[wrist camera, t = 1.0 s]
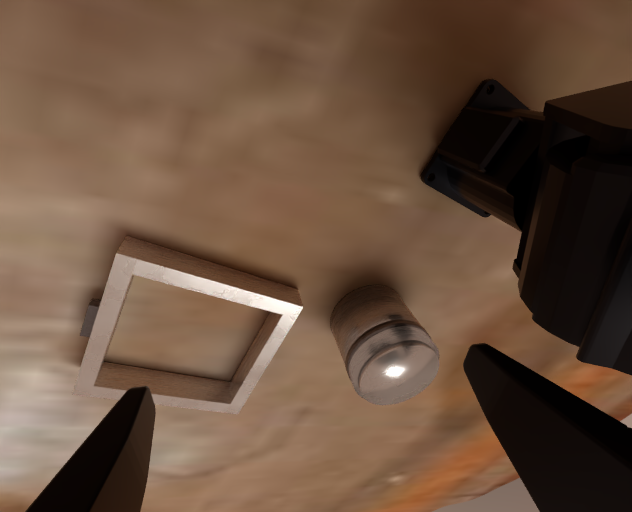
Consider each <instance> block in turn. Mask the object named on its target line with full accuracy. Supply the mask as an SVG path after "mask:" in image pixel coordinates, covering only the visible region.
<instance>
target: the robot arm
mask: <svg viewBox="0 0 632 512" xmlns="http://www.w3.org/2000/svg"><path fill="white" fill-rule="evenodd" d="M488 86H490V89H489V92H488V93H486V89H487V87H488ZM430 174H432V176H431V178H430V179H428V176H429V175H430ZM421 180H422V182H423V183H425V184H426V185H428V186H430V187H432V188H433V189H435V190H437V191H439V192H440V193H442V194H444V195H446V196H447V197H449V198H451V199H453V200H454V201H456V202H458V203H460V204H461V205H463V206H465V207H466V208H468V209H470V210H472V211H473V212H475V213H477V214H479V215H480V216H482V217H489V216H490V215H493V216H495V217H497V218H498V219H500V220H502V221H503V222H505V223H507V224H509V225H510V226H512V227H514V228H516V229H517V230H519V231H521V232H522V234H521V239H520V244H519V249H518V254H517V259H515V260H514V263H513V270H514V272H515V274H516V275H517V277H518V278H519V281H518V288H519V293H520V297H521V299H522V300H523V301H524V303H525V304H526V306H527V307H528V308H529V310H530V311H531V312H532V313H533V314H532V319H533V320H534V322H536V323H537V324H538V325H540V326H541V327H542V328H544V329H545V330H546V331H548V332H549V333H551V334H553V335H555V336H557V337H559V338H561V339H562V340H564V341H566V342H568V343H570V344H573V345H576V346H578V347H580V348H579V350H578V353H577V355H576V357H577V359H578V360H579V361H581V362H584V363H589V364H593V365H598V366H603V367H608V368H612V369H615V370H618V371H621V372H623V373H626V374H629V375H632V81H629V82H624V83H620V84H616V85H612V86H607V87H603V88H599V89H595V90H590V91H586V92H582V93H578V94H574V95H569V96H565V97H561V98H557V99H552V100H548V101H546V102H545V106H544V111H543V112H537V111H531V110H530V109H528V108H527V107H526V106H525V105H524V104H523V103H522V102H520V101H519V100H518V99H517V98H516V97H515V96H513V95H512V94H511V93H510V92H509V91H508V90H507V89H505V88H504V87H503V86H502V85H501V84H500V83H499V82H497V81H496V80H494V79H486V80H484V81H483V82H482V83H481V84H480V85H479V87H478V88H477V90H476V91H475V93H474V94H473V96H472V97H471V99H470V101H469V102H468V104H467V105H466V107H465V108H464V109H463V110H462V111H461V113H460V114H459V116H458V117H457V119H456V120H455V122H454V123H453V125H452V126H451V128H450V129H449V131H448V133H447V134H446V136H445V137H444V139H443V140H442V142H441V143H440V145H439V146H438V149H437V151H436V152H435V154H434V155H433V157H432V158H431V160H430V162H429V163H428V165H427V166H426V168H425V169H424V171H423V172H422V174H421ZM463 367H464V371H465V373H466V376H467V378H468V380H469V382H470V384H471V386H472V389H473V391H474V393H475V395H476V397H477V399H478V402H479V404H480V406H481V408H482V410H483V412H484V414H485V416H486V418H487V420H488V422H489V424H490V426H491V428H492V429H493V431H494V433H495V435H496V436H497V438H498V440H499V442H500V443H501V445H502V447H503V449H504V450H505V452H506V454H507V455H508V457H509V459H510V461H511V462H512V464H513V466H514V468H515V469H516V471H517V473H518V475H519V476H520V478H521V480H522V481H523V483H524V485H525V487H526V488H527V490H528V492H529V494H530V495H531V497H532V499H533V501H534V502H535V504H536V506H537V508H538V509H539V511H540V512H632V428H628V427H627V426H626V425H625V424H623V423H621V422H620V421H618V420H616V419H615V418H613V417H611V416H609V415H608V414H606V413H604V412H603V411H601V410H599V409H597V408H596V407H594V406H592V405H591V404H589V403H587V402H585V401H584V400H582V399H580V398H579V397H577V396H575V395H573V394H572V393H570V392H568V391H567V390H565V389H563V388H561V387H560V386H558V385H556V384H555V383H553V382H551V381H550V380H548V379H546V378H544V377H543V376H541V375H539V374H538V373H536V372H534V371H532V370H531V369H529V368H527V367H526V366H524V365H522V364H520V363H519V362H517V361H515V360H514V359H512V358H510V357H508V356H507V355H505V354H503V353H502V352H500V351H498V350H496V349H495V348H493V347H491V346H490V345H488V344H485V343H479V344H473V345H471V346H470V348H469V351H468V353H467V355H466V358H465V360H464V363H463ZM154 422H155V404H154V401H153V398H152V395H151V391H150V388H149V387H148V386H139V387H132V388H130V389H128V390H127V391H126V392H125V394H124V395H123V396H122V397H121V398H120V400H119V401H118V402H117V403H116V404H115V406H114V407H113V408H112V409H111V410H110V411H109V413H108V414H107V415H106V416H105V417H104V419H103V420H102V421H101V422H100V423H99V425H98V426H97V427H96V428H95V429H94V430H93V432H92V433H91V434H90V435H89V436H88V438H87V439H86V440H85V441H84V442H83V444H82V445H81V446H80V447H79V448H78V449H77V451H76V452H75V453H74V454H73V455H72V457H71V458H70V459H69V460H68V461H67V463H66V464H65V465H64V466H63V467H62V468H61V470H60V471H59V472H58V473H57V474H56V476H55V477H54V478H53V479H52V480H51V482H50V483H49V484H48V485H47V486H46V487H45V489H44V490H43V491H42V492H41V493H40V495H39V496H38V497H37V498H36V499H35V501H34V502H33V503H32V504H31V505H30V506H29V508H28V509H27V510H26V511H25V512H140V510H141V506H142V502H143V497H144V493H145V488H146V483H147V477H148V470H149V462H150V454H151V446H152V438H153V430H154Z"/></svg>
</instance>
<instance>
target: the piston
mask: <svg viewBox="0 0 632 512" xmlns="http://www.w3.org/2000/svg"><path fill="white" fill-rule="evenodd" d="M330 326H331V330H332V333H333V335H334V338H335V340H336V343H337V345H338V348H339V350H340V353H341V356H342V358H343V361H344V363H345V367H346V370H347V373H348V376H349V378H350V380H351V381H352V384H353V386H354V389H355V391H356V392H357V394H358V395H360V396H361V397H362V398H364V399H366V400H367V401H369V402H370V403H373V404H377V405H391V404H396V403H400V402H403V401H406V400H408V399H410V398H412V397H414V396H416V395H417V394H419V393H420V392H422V391H423V390H424V389H425V388H426V387H427V386H428V385H429V384H430V383H431V382H432V381H433V379H434V378H435V376H436V374H437V372H438V369H439V351H438V348H437V347H436V345H435V344H434V342H433V341H432V340H431V337H430V336H429V334H428V333H427V332H426V330H425V329H424V328H423V327H422V326H421V325H420V323H419V322H418V321H417V319H416V318H415V317H414V315H413V314H412V313H411V311H410V310H409V309H408V307H407V306H406V305H405V303H404V302H403V300H402V299H401V298H400V296H399V295H398V294H397V293H396V292H395V291H394V290H393V289H391V288H389V287H386V286H382V285H369V286H364V287H361V288H358V289H356V290H354V291H352V292H350V293H349V294H347V295H346V296H345V297H344V298H342V299H341V300H340V301H339V303H338V304H337V305H336V307H335V308H334V310H333V312H332V315H331V319H330Z"/></svg>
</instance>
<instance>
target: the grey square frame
mask: <svg viewBox="0 0 632 512" xmlns="http://www.w3.org/2000/svg"><path fill="white" fill-rule="evenodd" d="M134 275H137V276H141V277H144V278H148V279H152V280H155V281H159V282H163V283H167V284H170V285H174V286H178V287H181V288H185V289H189V290H193V291H196V292H200V293H204V294H207V295H211V296H215V297H219V298H222V299H226V300H230V301H233V302H237V303H241V304H245V305H248V306H252V307H256V308H259V309H263V310H267V311H270V313H269V315H268V317H267V318H266V320H265V322H264V324H263V325H262V327H261V329H260V331H259V332H258V334H257V336H256V338H255V340H254V341H253V343H252V345H251V347H250V348H249V350H248V352H247V354H246V355H245V357H244V359H243V361H242V362H241V364H240V366H239V368H238V370H237V371H236V373H235V375H234V377H233V378H232V380H231V382H226V381H220V380H214V379H207V378H201V377H195V376H189V375H183V374H176V373H170V372H164V371H158V370H151V369H145V368H139V367H133V366H127V365H120V364H114V363H108V362H104V360H105V357H106V354H107V351H108V348H109V345H110V342H111V340H112V337H113V334H114V331H115V328H116V325H117V322H118V319H119V317H120V314H121V311H122V308H123V305H124V302H125V299H126V296H127V294H128V291H129V288H130V285H131V282H132V279H133V276H134ZM302 309H303V304H302V301H301V298H300V294H299V291H298V289H296V288H293V287H289V286H286V285H283V284H280V283H277V282H273V281H270V280H267V279H264V278H261V277H257V276H254V275H251V274H248V273H245V272H241V271H238V270H235V269H232V268H229V267H225V266H222V265H219V264H216V263H213V262H209V261H206V260H203V259H200V258H197V257H193V256H190V255H187V254H184V253H181V252H177V251H174V250H171V249H168V248H165V247H161V246H158V245H155V244H152V243H149V242H145V241H142V240H139V239H136V238H133V237H129V236H126V237H125V239H124V241H123V243H122V244H121V246H120V248H119V249H118V251H117V253H116V255H115V259H114V262H113V265H112V268H111V271H110V275H109V278H108V281H107V284H106V287H105V290H104V294H103V297H102V300H97V299H92V300H91V302H90V304H89V306H88V309H87V313H86V316H85V320H84V323H83V326H82V330H81V333H80V336H85V337H90V338H89V341H88V345H87V348H86V351H85V354H84V357H83V360H82V364H81V367H80V370H79V373H78V376H77V380H76V383H75V386H74V389H73V392H72V395H81V396H89V397H98V398H106V399H114V400H120V398H121V397H122V396H123V395H124V394H125V392H126V391H127V390H128V389H130V388H132V387H139V386H148V387H149V388H150V391H151V395H152V398H153V401H154V404H156V405H165V406H173V407H182V408H190V409H198V410H207V411H215V412H224V413H232V414H238V413H239V412H240V410H241V408H242V407H243V405H244V404H245V402H246V400H247V399H248V397H249V395H250V394H251V392H252V390H253V389H254V387H255V386H256V384H257V382H258V381H259V379H260V377H261V376H262V374H263V372H264V371H265V369H266V368H267V366H268V364H269V363H270V361H271V359H272V358H273V356H274V354H275V353H276V351H277V350H278V348H279V346H280V345H281V343H282V341H283V340H284V338H285V336H286V335H287V333H288V332H289V330H290V328H291V327H292V325H293V323H294V322H295V320H296V318H297V317H298V315H299V314H300V312H301V310H302Z"/></svg>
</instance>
